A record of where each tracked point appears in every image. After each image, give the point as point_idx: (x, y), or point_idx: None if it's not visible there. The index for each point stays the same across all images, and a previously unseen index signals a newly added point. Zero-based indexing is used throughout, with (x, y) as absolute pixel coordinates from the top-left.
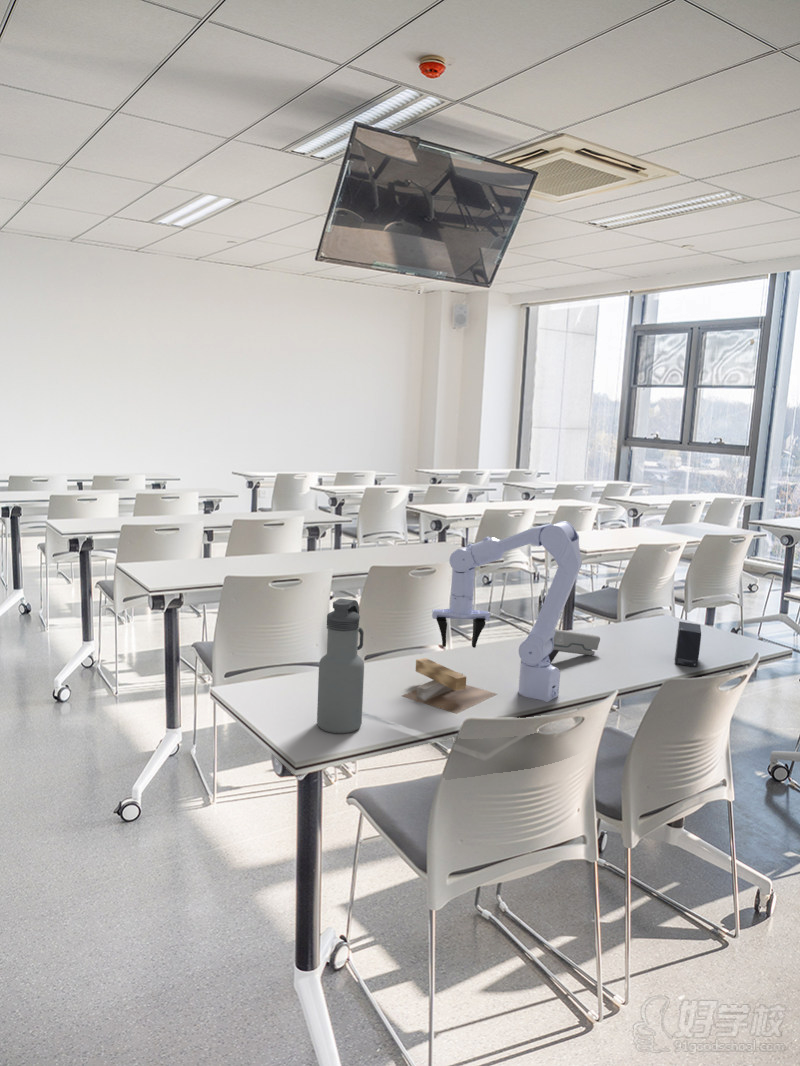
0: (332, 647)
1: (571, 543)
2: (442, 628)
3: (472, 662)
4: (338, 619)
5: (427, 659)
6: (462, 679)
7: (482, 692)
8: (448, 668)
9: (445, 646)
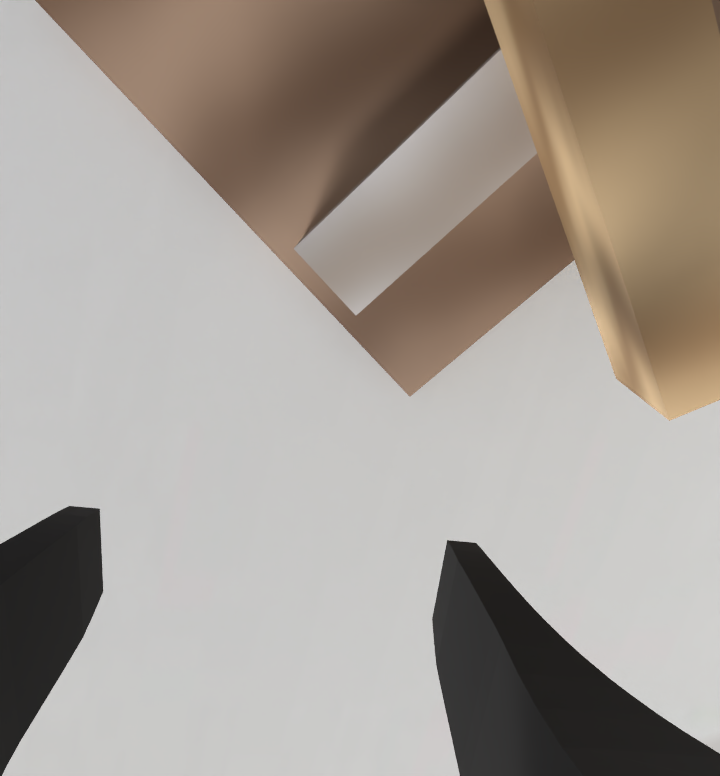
0: None
1: None
2: (631, 723)
3: (130, 721)
4: None
5: (670, 369)
6: None
7: (156, 33)
8: (535, 7)
9: (452, 541)
